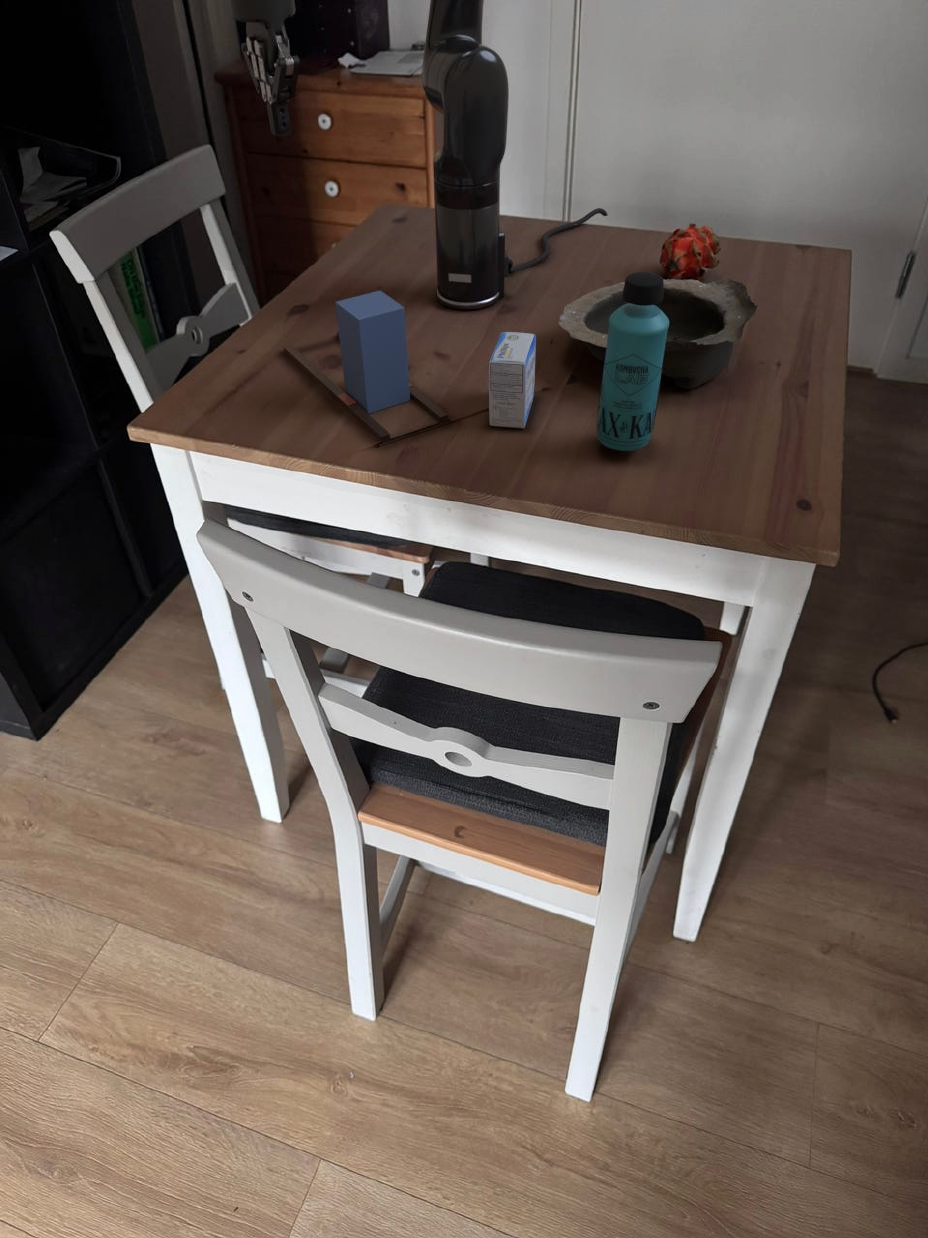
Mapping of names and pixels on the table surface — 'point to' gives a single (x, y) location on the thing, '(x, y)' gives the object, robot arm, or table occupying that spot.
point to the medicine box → (512, 379)
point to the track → (358, 411)
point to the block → (374, 350)
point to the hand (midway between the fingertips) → (281, 134)
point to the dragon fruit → (690, 253)
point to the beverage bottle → (633, 365)
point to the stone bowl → (673, 325)
